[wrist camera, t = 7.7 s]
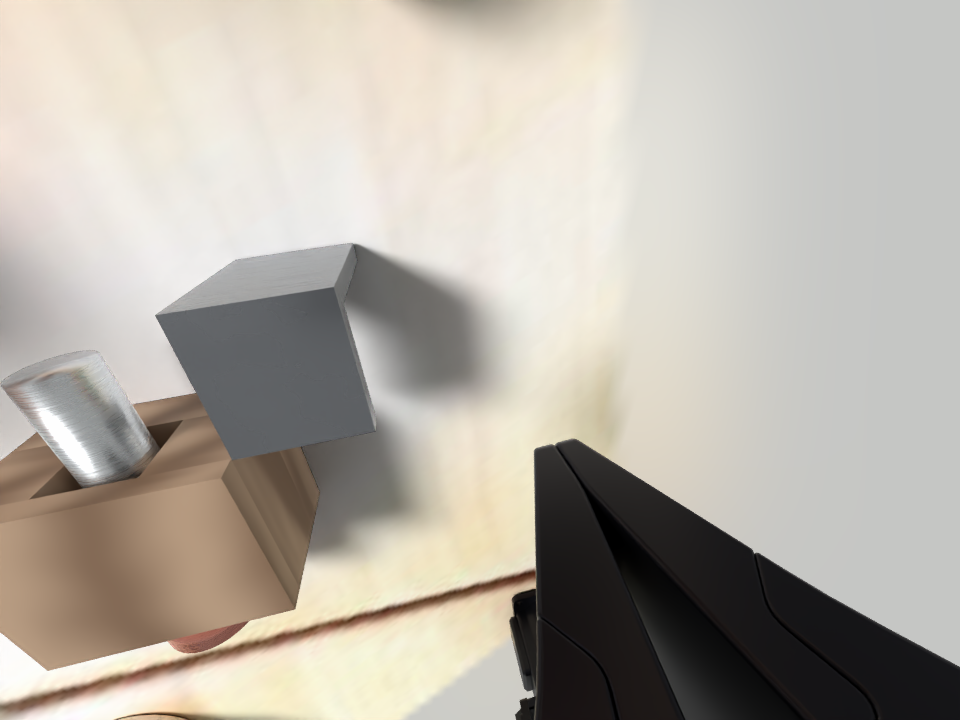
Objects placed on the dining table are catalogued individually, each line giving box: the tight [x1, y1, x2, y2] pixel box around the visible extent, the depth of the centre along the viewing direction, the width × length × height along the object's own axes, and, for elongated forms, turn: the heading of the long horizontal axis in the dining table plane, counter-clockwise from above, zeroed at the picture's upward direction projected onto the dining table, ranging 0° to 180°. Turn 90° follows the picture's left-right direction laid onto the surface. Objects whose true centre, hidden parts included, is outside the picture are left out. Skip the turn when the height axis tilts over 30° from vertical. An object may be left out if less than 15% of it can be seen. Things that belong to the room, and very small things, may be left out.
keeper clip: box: [155, 243, 376, 460], centre depth 16 cm, size 5×6×7 cm
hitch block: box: [0, 393, 320, 671], centre depth 18 cm, size 10×8×7 cm
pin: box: [0, 350, 249, 653], centre depth 17 cm, size 5×14×5 cm, turn 6°
